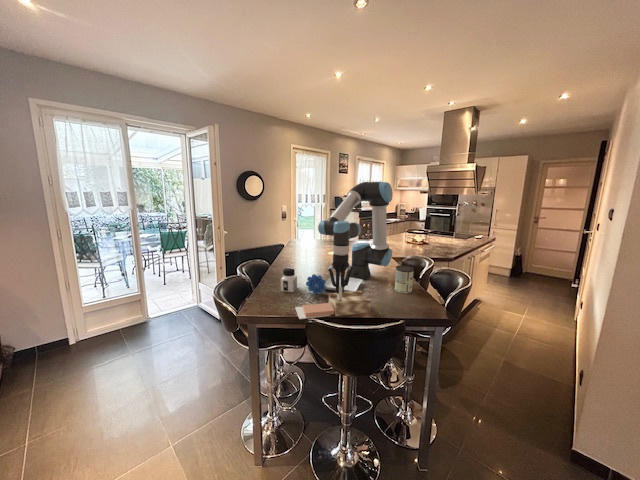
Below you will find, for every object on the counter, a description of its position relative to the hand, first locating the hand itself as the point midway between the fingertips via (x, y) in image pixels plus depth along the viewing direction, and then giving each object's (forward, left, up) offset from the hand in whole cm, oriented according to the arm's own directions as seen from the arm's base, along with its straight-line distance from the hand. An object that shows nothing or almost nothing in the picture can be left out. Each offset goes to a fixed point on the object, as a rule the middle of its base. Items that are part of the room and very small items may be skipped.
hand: (339, 299), depth 131 cm
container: (+21, -32, -6) cm, 38 cm away
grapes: (+7, -21, -6) cm, 23 cm away
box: (-5, 0, -6) cm, 8 cm away
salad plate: (-12, -29, -6) cm, 32 cm away
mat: (+14, -1, -6) cm, 15 cm away
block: (+11, 0, -5) cm, 12 cm away
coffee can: (-46, -16, -6) cm, 49 cm away
